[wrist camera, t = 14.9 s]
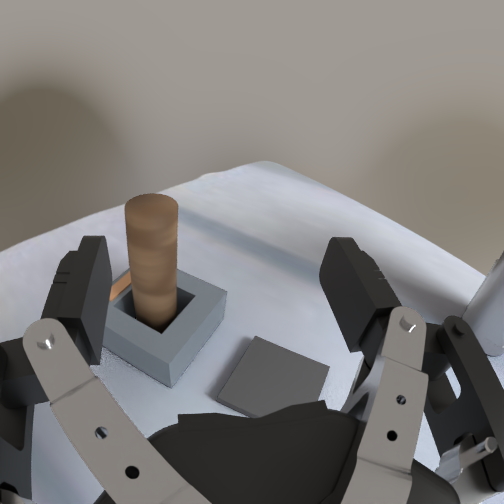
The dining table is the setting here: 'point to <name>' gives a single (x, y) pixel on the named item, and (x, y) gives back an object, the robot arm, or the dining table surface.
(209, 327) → the socket block
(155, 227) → the walnut peg
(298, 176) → the dining table surface
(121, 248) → the dining table surface
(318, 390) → the pad
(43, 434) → the dining table surface
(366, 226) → the dining table surface
